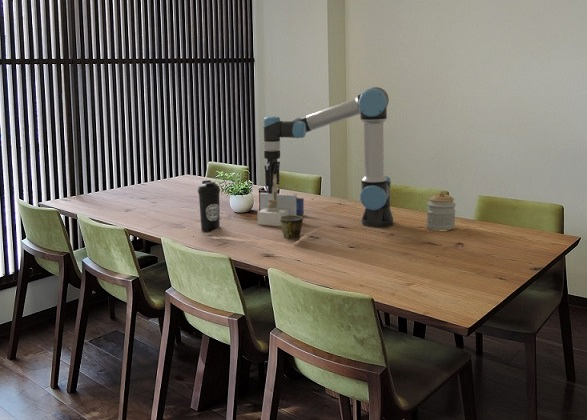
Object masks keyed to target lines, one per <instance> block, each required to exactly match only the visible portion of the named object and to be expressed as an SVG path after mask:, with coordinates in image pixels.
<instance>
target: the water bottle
mask: <svg viewBox="0 0 587 420" xmlns="http://www.w3.org/2000/svg"><path fill="white" fill-rule="evenodd" d="M201 183H202V184H201V185H199V187H198V188H197V193H198V201H199V214H200V226H201V232H203V233H211V232H213V231H215V230H217V229H220V228H221V226H220V224H221V223H220V222H221V221H220V220H221V219H220V218H221V217H220V215H221V214H220V193H221V187H220V186H219V185H218V184H216V182H215V181H212V180H207V179H206V180H202V181H201Z"/></svg>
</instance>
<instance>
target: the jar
mask: <svg viewBox="0 0 587 420" xmlns="http://www.w3.org/2000/svg"><path fill="white" fill-rule="evenodd" d="M454 200H455V198H454V197H452V196H451V195H449V194H446V193H445V192H444V191H443V190H442V191H441V190H440V191H439V193H438V194H432V195H431V196H430V197H429V198H428V202H427V203H426V205H428V206H427V209H426V223H425V224H426V229H428V228H429V229H433V230H450V229H453V228H454V229H455V227H456V223H455V222H456V221H455V218H456V209H455V207H456V206H457V203H456V202H454ZM429 229H428V230H429ZM454 229H453V230H454ZM433 230H432V231H433Z"/></svg>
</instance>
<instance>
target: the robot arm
mask: <svg viewBox="0 0 587 420" xmlns="http://www.w3.org/2000/svg"><path fill="white" fill-rule="evenodd" d="M389 99H390V97H389V94H388V92H386V90H384V89H383V88H382V87H376V86H375V87H371V88H368V89H365V90H364V91H363V92H362V93H360V94H357V95H356V98H353V99H350V100H347V101H344V102H342V103H337V104H336V105H333V106H330V107H326V108H324V109H321V110H318V111H315V112H313V113H310V114H307V115H305V116H301V117H298V118H295V119H293V120H291V121H290V120H289V121H288V120H287V121H283V120H281V119H280V116H276V115H275V116H273V115H271V116H270V115H269V116H265V117H264V119H263V143H262V145H264V147H263V149H264V151H263V158H264V159H265V160H267V161H266V164H265V165H264V176H265V179H264V180H265V187H267V193H268V200H274V186H273V175H274V174H276V182H277V185H280V167H281V166H280V165H281V162H280V161H278V159H280V158H281V150H280V149H281V138H291V139H292V138H293V139H300V138H301V139H303V138H305V137H306V136H307V135H306V134H307V133H308V132H311V131H315V130H318V129H320V128H324V127H326V126H328V125H332V124H334V123H338V122H341V121H343V120H347V119H350V118H353V117H355V116H359V115H360V121H362V122H363V135H364V136H363V137H364V139H363V141H364V142H363V144H364V145H363V146H364V153H363V155H364V176H363V177H362V178H361V191H360V195H359V198H360V202H361V204H362V206H363V207H364V212H363V213H362V216H361V224H362V225H364V226H366V227H371V226H374V227H373V228H384V227H383V226H386V227H390V225H391V226H393V225H394V217H393V214H392V211H391V184H392V182H391V177H390V176H387V175H386V176H385V175H384V174H385V173H384V171H385V169H384V164H385V163H384V162H385V161H384V160H385V159H384V155H385V154H384V151H385V150H384V147H385V146H384V122H385V121H387V119H388V115H387V113H388V111H387V109H388V105H389ZM278 192H279V191H278V190H277V198H278V194H279V193H278ZM392 224H393V225H392Z"/></svg>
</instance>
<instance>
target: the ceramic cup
mask: <svg viewBox="0 0 587 420" xmlns="http://www.w3.org/2000/svg"><path fill="white" fill-rule="evenodd" d="M280 221H281V226H280V227H281V228H282V235H283V238H284V239H288V240H294V241H293V242H298V241H299V240H300V237H301V236H300V235H301V231H302V230H301V229H302V227H303V226H302V225H303V221H304V217H303V216H299V215H287V216H282V217H281V218H280ZM295 239H296V240H295Z"/></svg>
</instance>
